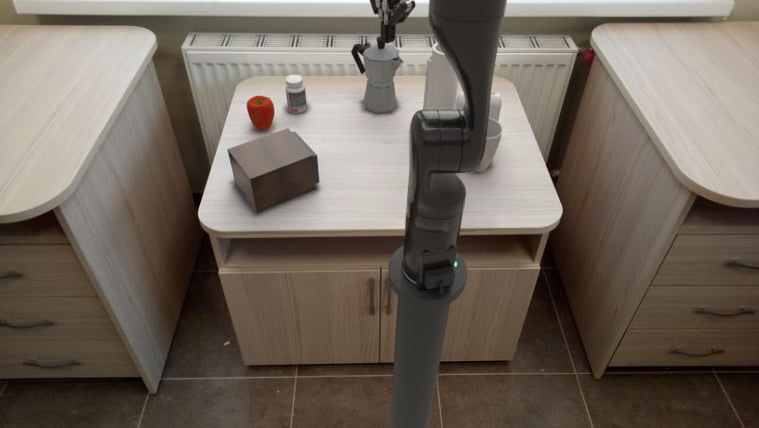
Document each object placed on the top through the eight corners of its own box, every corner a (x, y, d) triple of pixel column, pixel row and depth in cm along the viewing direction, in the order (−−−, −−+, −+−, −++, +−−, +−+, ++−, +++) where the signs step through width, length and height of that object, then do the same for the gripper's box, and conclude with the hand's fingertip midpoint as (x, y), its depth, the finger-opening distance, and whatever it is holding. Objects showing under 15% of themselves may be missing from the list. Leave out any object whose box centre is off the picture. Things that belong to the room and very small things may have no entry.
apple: (281, 124, 131) (278, 97, 126) (265, 137, 127) (260, 109, 122) (262, 116, 133) (257, 89, 128) (244, 128, 130) (239, 101, 124)
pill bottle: (310, 108, 136) (308, 78, 130) (296, 115, 134) (293, 85, 128) (298, 101, 139) (295, 71, 133) (284, 108, 136) (280, 78, 130)
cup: (451, 159, 122) (456, 122, 115) (481, 149, 125) (487, 112, 118) (471, 180, 117) (478, 142, 110) (502, 169, 120) (510, 132, 113)
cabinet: (292, 161, 121) (287, 127, 115) (316, 189, 114) (313, 155, 108) (234, 183, 115) (227, 149, 109) (256, 213, 109) (249, 179, 102)
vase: (454, 132, 130) (465, 55, 116) (424, 132, 130) (431, 55, 116) (449, 106, 138) (458, 31, 124) (421, 105, 138) (427, 30, 124)
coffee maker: (410, 104, 138) (414, 38, 125) (391, 120, 133) (394, 53, 120) (362, 86, 144) (362, 21, 131) (343, 101, 139) (340, 34, 126)
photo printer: (451, 140, 127) (457, 94, 119) (451, 129, 130) (457, 84, 122) (495, 143, 127) (504, 97, 118) (494, 132, 130) (503, 87, 121)
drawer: (302, 156, 121) (299, 129, 116) (324, 180, 115) (322, 153, 110) (245, 177, 115) (239, 150, 110) (265, 204, 109) (260, 176, 104)
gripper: (349, -66, 91) (351, 32, 103) (394, -42, 83) (391, 61, 95) (386, -73, 94) (384, 23, 106) (433, -51, 86) (425, 50, 98)
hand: (387, 41), depth 101 cm, fingers closed
